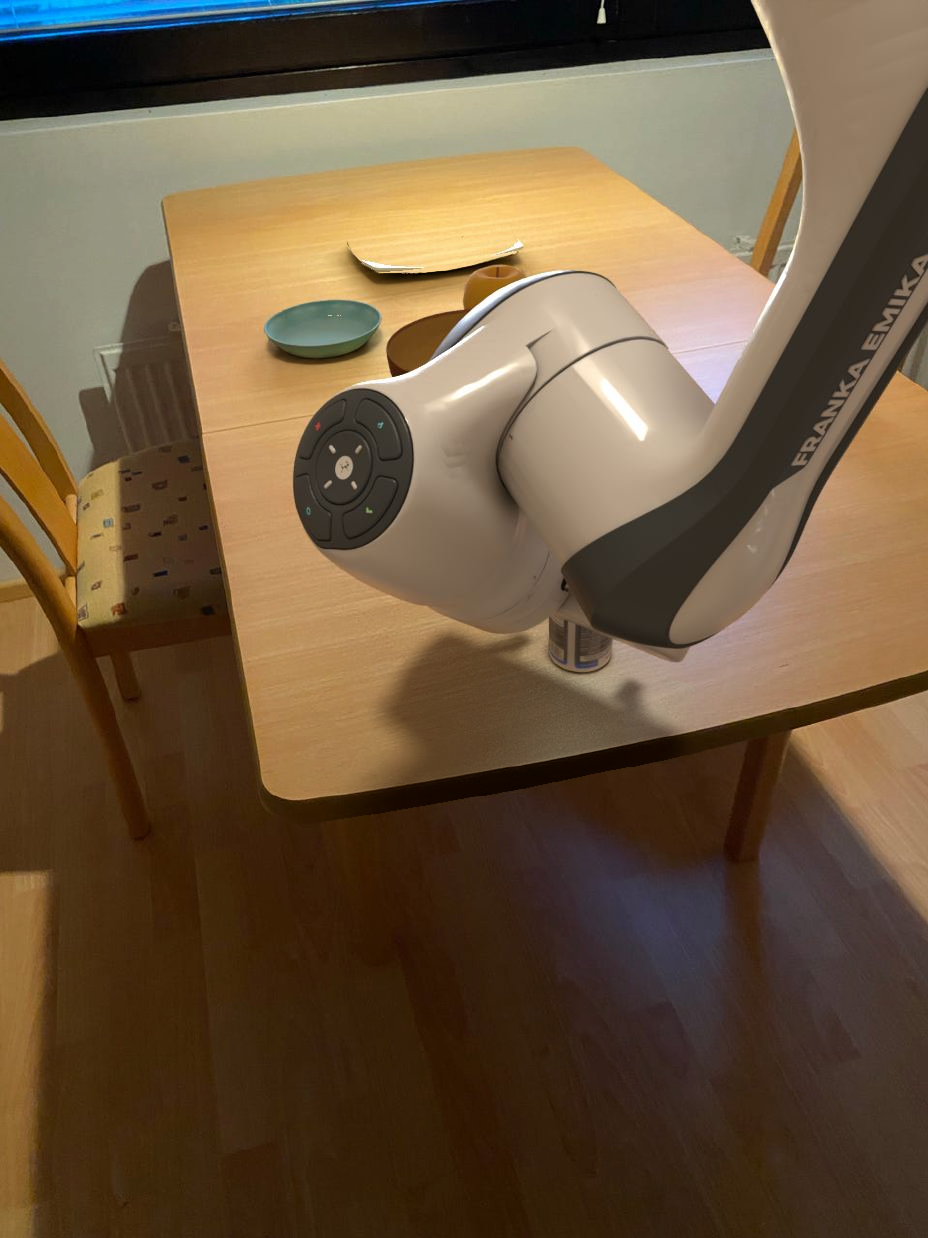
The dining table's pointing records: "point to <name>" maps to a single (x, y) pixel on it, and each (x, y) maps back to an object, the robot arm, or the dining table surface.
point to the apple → (489, 283)
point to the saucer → (323, 327)
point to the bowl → (420, 341)
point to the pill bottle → (577, 646)
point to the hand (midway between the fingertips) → (579, 599)
